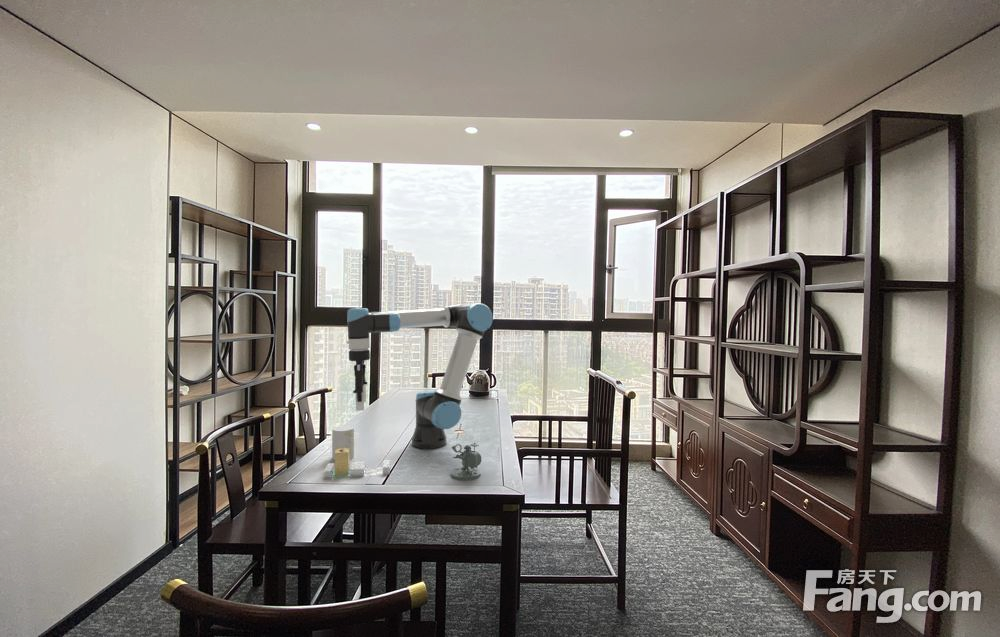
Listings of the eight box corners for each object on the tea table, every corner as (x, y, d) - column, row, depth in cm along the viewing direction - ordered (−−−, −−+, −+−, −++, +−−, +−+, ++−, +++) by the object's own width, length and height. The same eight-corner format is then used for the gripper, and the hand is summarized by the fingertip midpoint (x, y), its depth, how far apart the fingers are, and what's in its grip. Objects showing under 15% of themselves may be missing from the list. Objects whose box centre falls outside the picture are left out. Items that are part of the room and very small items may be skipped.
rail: (390, 467, 169) (390, 459, 169) (389, 475, 161) (389, 467, 161) (327, 471, 164) (327, 463, 164) (324, 479, 156) (324, 471, 156)
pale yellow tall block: (349, 470, 164) (349, 447, 164) (348, 474, 159) (348, 451, 159) (336, 470, 163) (336, 448, 163) (334, 475, 159) (334, 452, 158)
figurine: (462, 467, 169) (462, 436, 169) (486, 473, 164) (486, 440, 163) (444, 476, 160) (445, 443, 160) (469, 483, 155) (470, 448, 154)
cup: (347, 462, 173) (347, 431, 173) (328, 460, 175) (328, 430, 175) (357, 455, 181) (357, 426, 181) (339, 454, 183) (339, 424, 183)
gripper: (351, 346, 179) (353, 399, 180) (345, 354, 155) (347, 415, 156) (371, 345, 181) (373, 398, 182) (367, 352, 157) (370, 413, 158)
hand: (361, 406), depth 169 cm, fingers open, 13 cm apart
